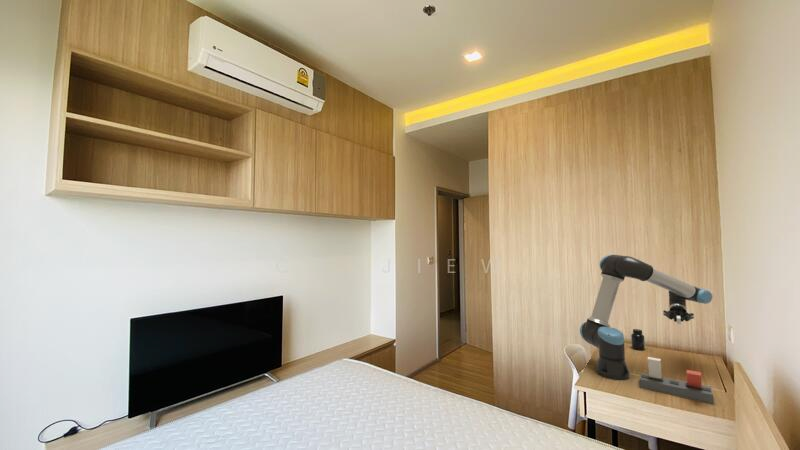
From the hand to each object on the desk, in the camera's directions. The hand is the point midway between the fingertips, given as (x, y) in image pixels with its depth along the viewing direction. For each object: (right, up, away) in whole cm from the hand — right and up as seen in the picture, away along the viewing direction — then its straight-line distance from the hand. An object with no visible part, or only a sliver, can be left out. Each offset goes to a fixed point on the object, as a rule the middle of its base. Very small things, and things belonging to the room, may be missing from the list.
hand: (678, 321), depth 165 cm
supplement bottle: (+11, -31, +44) cm, 55 cm away
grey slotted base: (-11, -30, -11) cm, 34 cm away
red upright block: (-6, -25, -15) cm, 30 cm away
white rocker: (-17, -26, -6) cm, 31 cm away
